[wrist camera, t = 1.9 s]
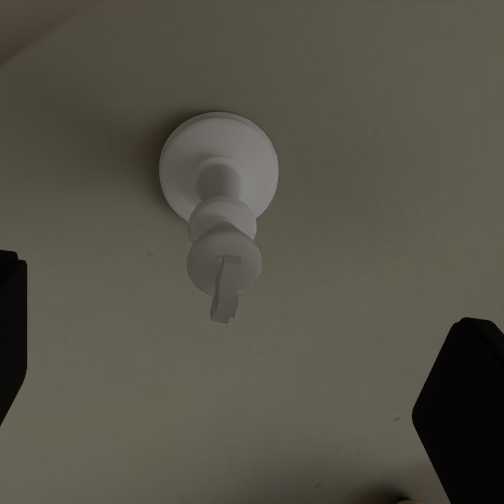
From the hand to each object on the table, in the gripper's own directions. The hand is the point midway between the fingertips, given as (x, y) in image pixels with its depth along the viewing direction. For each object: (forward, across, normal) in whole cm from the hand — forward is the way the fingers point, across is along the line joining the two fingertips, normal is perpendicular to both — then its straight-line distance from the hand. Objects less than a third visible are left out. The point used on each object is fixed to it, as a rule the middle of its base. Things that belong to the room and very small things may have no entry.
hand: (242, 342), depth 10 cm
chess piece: (+11, 0, 0) cm, 11 cm away
